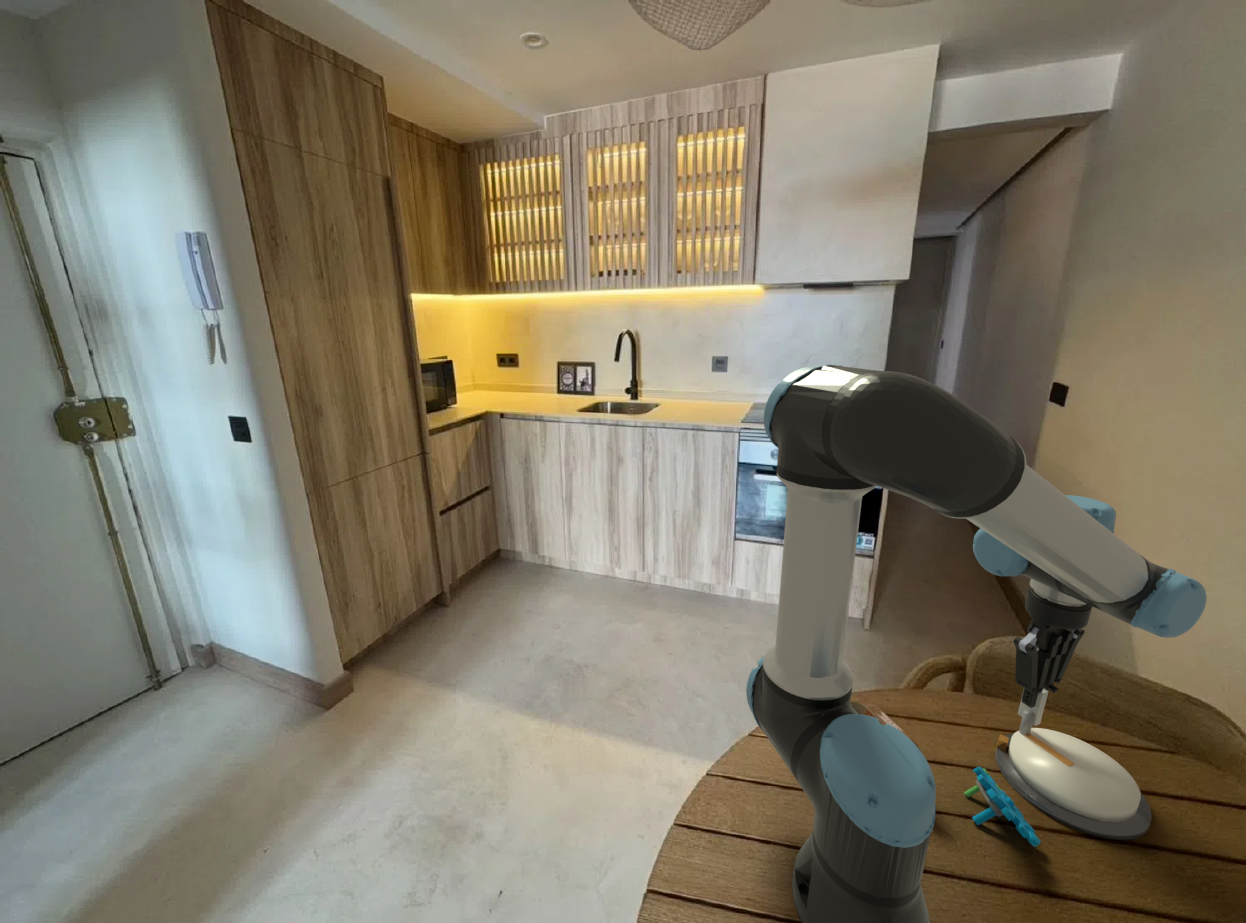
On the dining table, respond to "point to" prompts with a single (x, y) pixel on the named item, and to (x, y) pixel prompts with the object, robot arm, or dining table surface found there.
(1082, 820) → the dial base
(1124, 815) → the dial
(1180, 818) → the dining table surface
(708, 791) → the dining table surface
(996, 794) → the gear
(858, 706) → the tin
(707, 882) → the dining table surface
